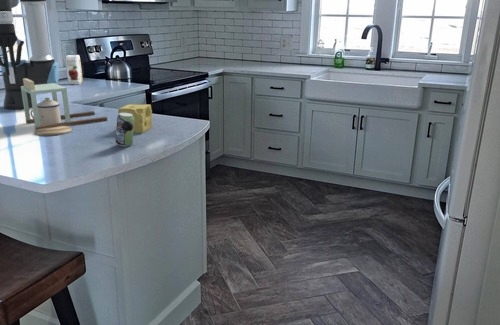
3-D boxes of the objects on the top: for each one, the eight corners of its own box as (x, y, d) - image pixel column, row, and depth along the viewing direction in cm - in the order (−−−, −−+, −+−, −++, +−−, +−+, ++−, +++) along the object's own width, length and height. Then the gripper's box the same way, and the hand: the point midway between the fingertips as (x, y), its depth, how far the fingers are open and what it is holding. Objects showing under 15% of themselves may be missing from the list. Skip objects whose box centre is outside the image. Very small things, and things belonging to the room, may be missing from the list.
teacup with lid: (62, 121, 213) (58, 95, 210) (61, 125, 205) (58, 98, 201) (32, 123, 209) (29, 97, 206) (31, 128, 201) (27, 100, 197)
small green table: (25, 119, 209) (19, 78, 204) (58, 115, 218) (53, 75, 212) (36, 127, 196) (29, 82, 191) (70, 122, 204) (65, 79, 199)
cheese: (143, 133, 191) (141, 109, 188) (118, 132, 193) (116, 108, 190) (153, 127, 201) (151, 104, 198) (129, 126, 203) (127, 103, 200)
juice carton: (70, 83, 322) (67, 54, 316) (83, 83, 323) (80, 54, 317) (67, 85, 315) (64, 55, 309) (81, 84, 316) (77, 55, 310)
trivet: (31, 131, 196) (30, 129, 196) (65, 126, 204) (65, 124, 204) (40, 137, 186) (40, 135, 185) (76, 132, 194) (76, 130, 193)
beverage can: (117, 143, 177) (114, 111, 174) (137, 142, 178) (135, 111, 174) (114, 148, 171) (111, 115, 168) (135, 147, 172) (132, 114, 168)
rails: (26, 123, 210) (25, 119, 210) (93, 114, 227) (92, 111, 227) (36, 130, 197) (36, 127, 196) (107, 120, 214) (106, 117, 213)
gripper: (-14, 23, 181) (-3, 85, 188) (23, 22, 189) (31, 82, 196) (-17, 23, 187) (-7, 83, 194) (18, 22, 194) (27, 80, 201)
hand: (12, 83), depth 195 cm, fingers closed
